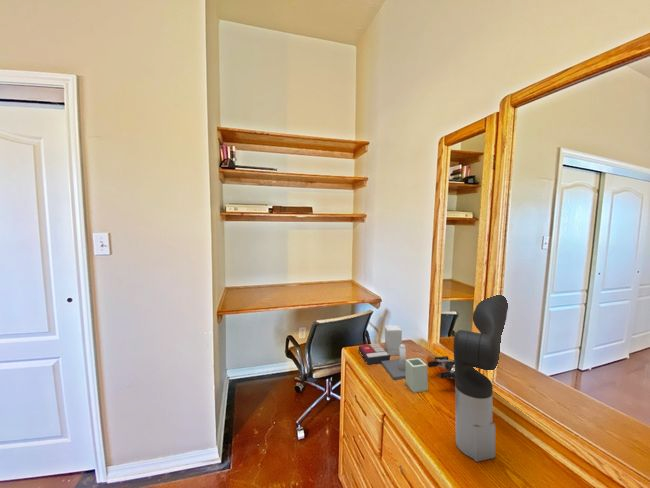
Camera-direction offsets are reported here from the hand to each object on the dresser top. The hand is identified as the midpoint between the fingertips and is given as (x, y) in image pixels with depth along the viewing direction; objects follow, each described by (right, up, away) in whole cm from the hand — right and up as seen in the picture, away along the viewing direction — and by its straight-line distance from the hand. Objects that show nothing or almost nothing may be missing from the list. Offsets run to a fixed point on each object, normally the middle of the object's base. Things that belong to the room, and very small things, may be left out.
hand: (434, 369), depth 107 cm
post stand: (-10, -6, +12) cm, 17 cm away
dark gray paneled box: (-20, -6, +25) cm, 32 cm away
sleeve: (-7, -6, -1) cm, 10 cm away
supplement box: (-9, -5, +29) cm, 31 cm away
